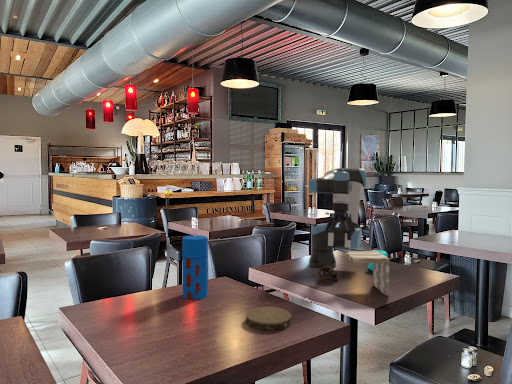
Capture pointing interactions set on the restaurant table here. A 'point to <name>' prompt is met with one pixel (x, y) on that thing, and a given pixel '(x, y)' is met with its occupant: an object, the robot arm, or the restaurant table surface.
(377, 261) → the counter
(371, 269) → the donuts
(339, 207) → the robot arm
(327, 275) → the brown arched shell
